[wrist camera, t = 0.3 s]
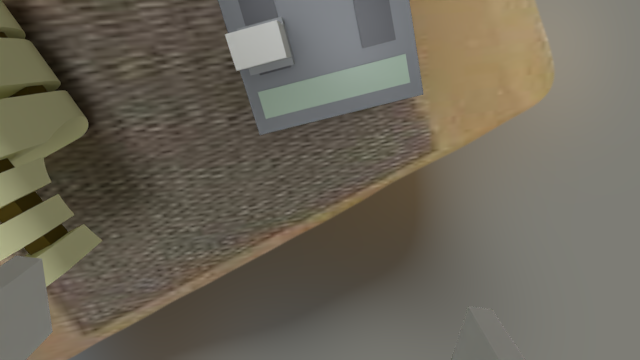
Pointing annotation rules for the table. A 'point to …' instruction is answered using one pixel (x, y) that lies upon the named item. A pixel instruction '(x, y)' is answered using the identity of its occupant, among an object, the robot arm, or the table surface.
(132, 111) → the table surface
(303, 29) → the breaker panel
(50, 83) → the slatted curved stool
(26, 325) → the robot arm
